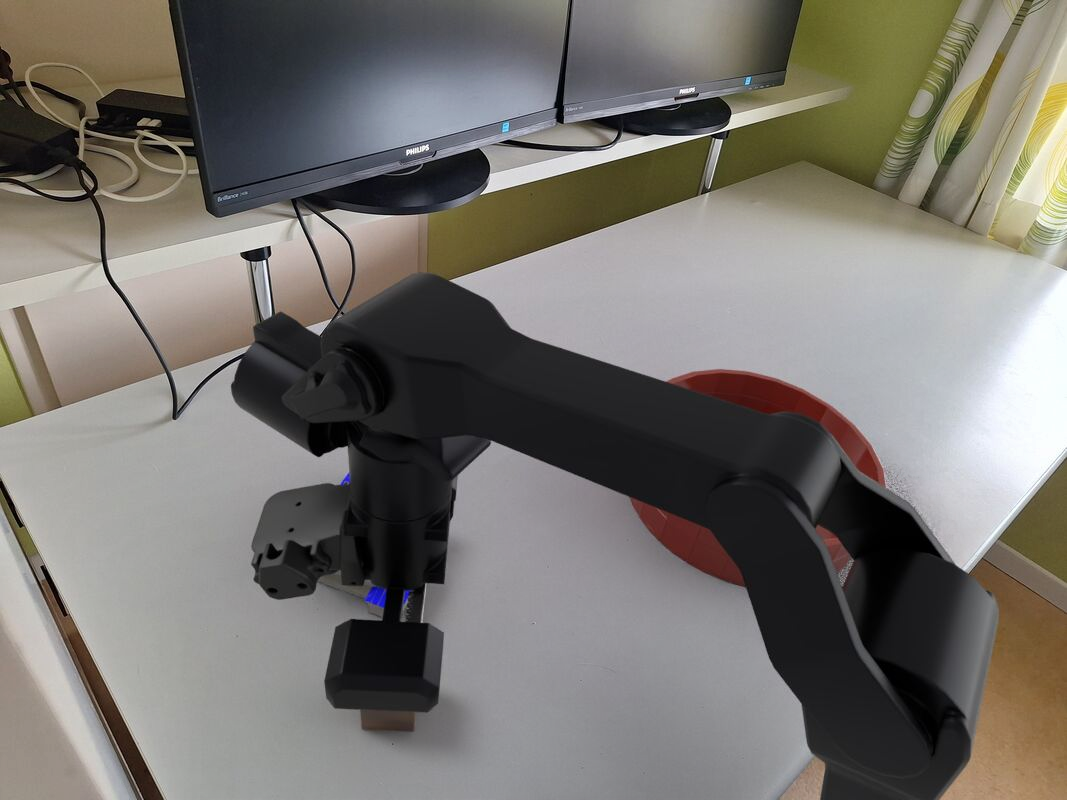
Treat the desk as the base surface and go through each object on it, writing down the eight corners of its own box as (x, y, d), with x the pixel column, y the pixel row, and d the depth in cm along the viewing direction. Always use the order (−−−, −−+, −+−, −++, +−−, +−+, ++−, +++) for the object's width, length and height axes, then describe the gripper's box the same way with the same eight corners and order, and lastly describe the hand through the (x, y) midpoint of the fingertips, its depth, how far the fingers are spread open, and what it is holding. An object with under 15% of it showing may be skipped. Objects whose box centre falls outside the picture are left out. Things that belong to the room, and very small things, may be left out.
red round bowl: (910, 534, 80) (938, 493, 76) (733, 631, 69) (755, 589, 64) (746, 389, 96) (762, 348, 91) (579, 448, 84) (589, 405, 80)
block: (419, 682, 62) (419, 656, 59) (414, 731, 59) (414, 706, 56) (369, 680, 61) (367, 654, 59) (361, 729, 58) (359, 704, 56)
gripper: (294, 368, 50) (312, 521, 60) (205, 619, 36) (248, 763, 46) (464, 382, 51) (453, 530, 61) (443, 631, 37) (433, 770, 47)
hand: (401, 632), depth 54 cm, fingers open, 9 cm apart
